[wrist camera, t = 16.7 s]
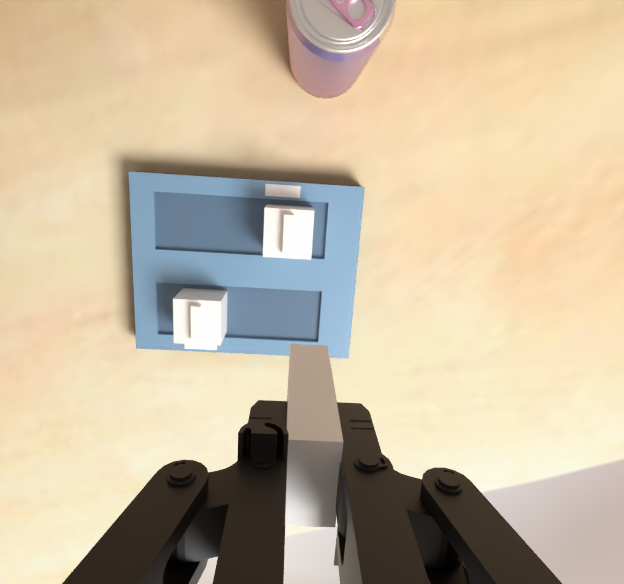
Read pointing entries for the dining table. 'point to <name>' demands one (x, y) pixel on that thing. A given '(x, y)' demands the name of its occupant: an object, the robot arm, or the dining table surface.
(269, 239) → the tab near
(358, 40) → the beverage can
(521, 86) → the dining table surface
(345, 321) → the switch bank
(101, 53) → the dining table surface
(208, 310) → the tab far
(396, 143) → the dining table surface
